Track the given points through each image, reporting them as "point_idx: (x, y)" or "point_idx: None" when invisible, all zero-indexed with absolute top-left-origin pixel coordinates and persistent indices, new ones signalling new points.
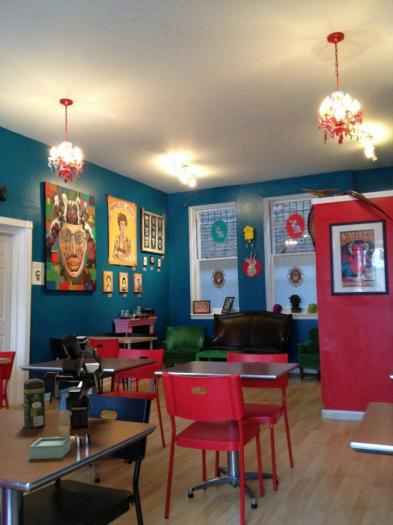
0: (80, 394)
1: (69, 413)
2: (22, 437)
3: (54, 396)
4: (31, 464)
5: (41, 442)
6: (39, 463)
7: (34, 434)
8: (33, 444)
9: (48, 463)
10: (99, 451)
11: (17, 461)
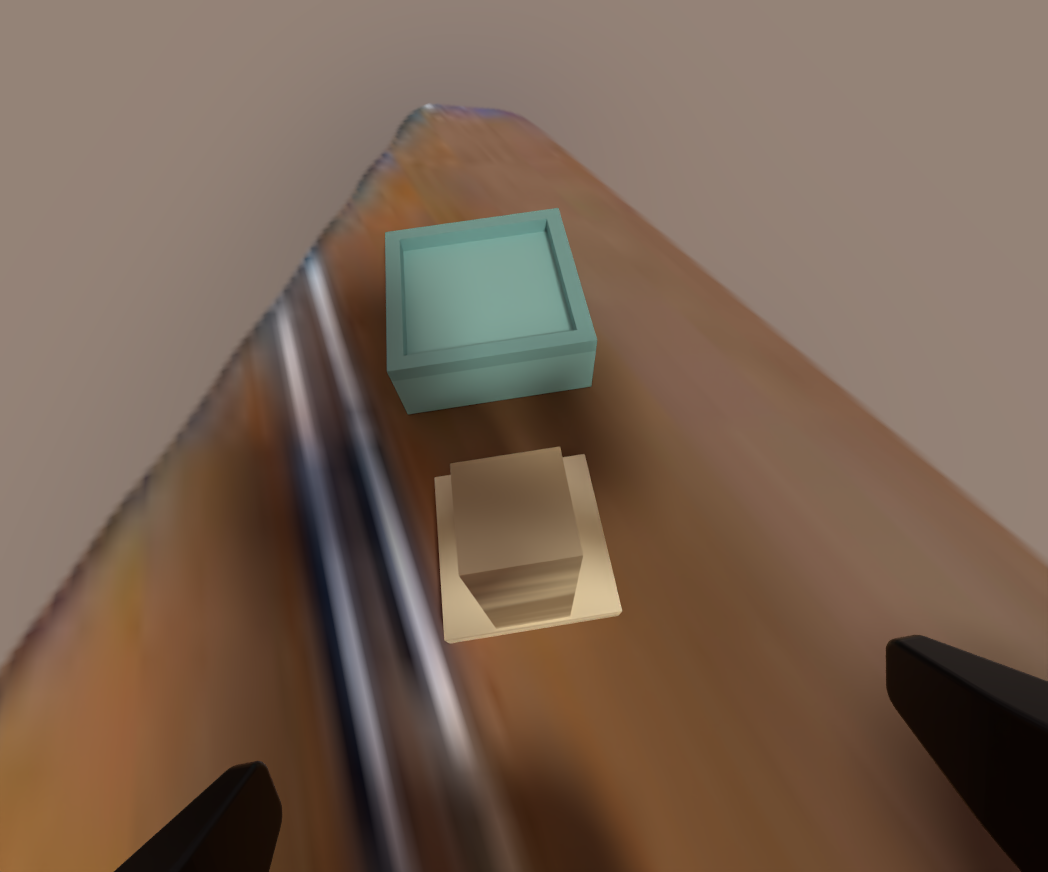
0: (140, 854)
1: (465, 583)
2: None
3: (936, 701)
4: None
5: (560, 315)
6: None
7: (1007, 860)
8: (557, 233)
9: None
10: (225, 379)
11: (598, 237)
